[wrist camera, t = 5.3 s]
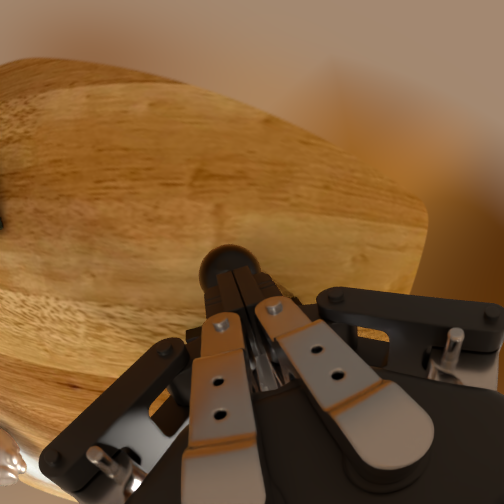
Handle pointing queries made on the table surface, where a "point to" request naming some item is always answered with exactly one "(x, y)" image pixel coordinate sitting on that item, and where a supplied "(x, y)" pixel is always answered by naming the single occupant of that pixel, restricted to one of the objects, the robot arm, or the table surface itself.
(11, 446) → the silver rounded lump
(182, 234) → the table surface
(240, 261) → the lever
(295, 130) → the table surface
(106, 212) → the table surface
